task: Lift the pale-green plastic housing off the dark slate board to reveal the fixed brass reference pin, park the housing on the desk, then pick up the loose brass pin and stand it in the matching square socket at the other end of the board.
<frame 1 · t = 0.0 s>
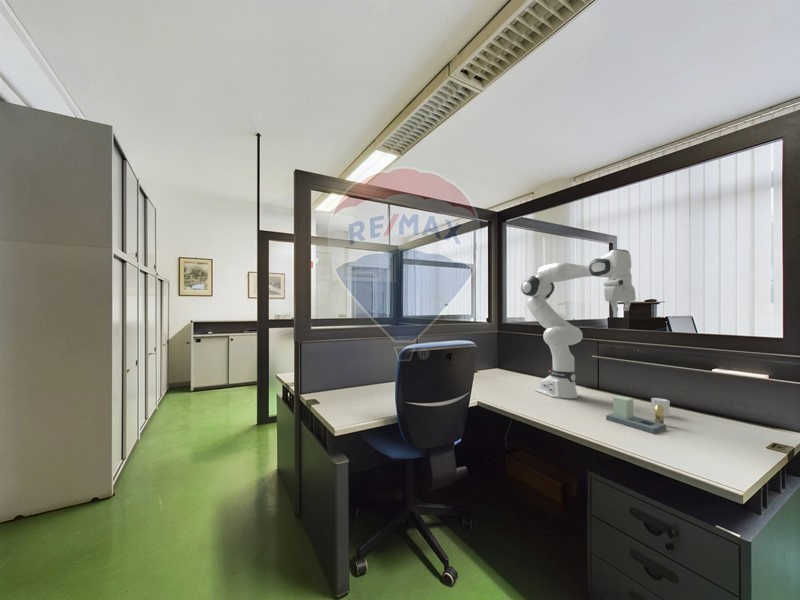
hand: (620, 311, 156), 48 cm above the table, fingers open, 8 cm apart
pin: (659, 424, 137), on the table
shot glass: (660, 415, 149), on the table
housing: (623, 416, 141), point 2 cm above the table, touching pin board
pin board: (634, 424, 137), on the table
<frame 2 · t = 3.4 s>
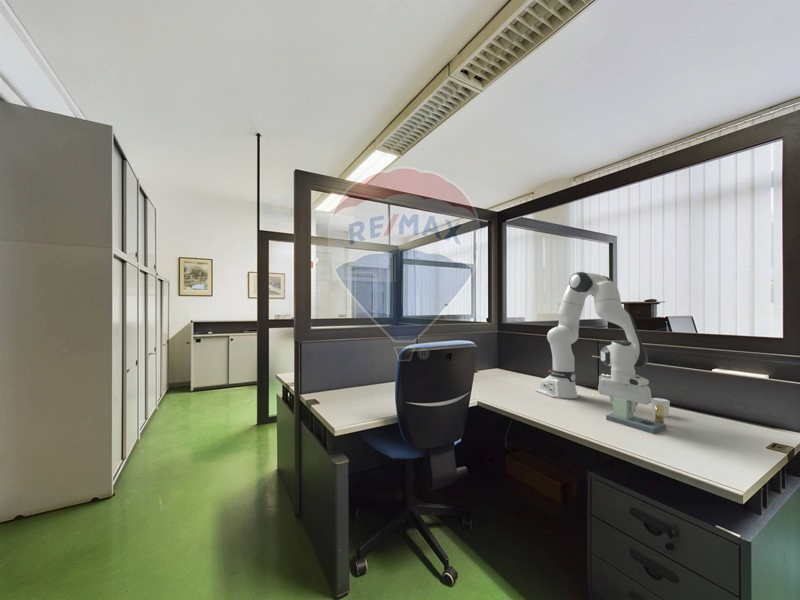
hand: (623, 409, 141), 5 cm above the table, fingers closed on housing, 5 cm apart
housing: (623, 416, 141), point 2 cm above the table, touching gripper, pin board
everything else where it was.
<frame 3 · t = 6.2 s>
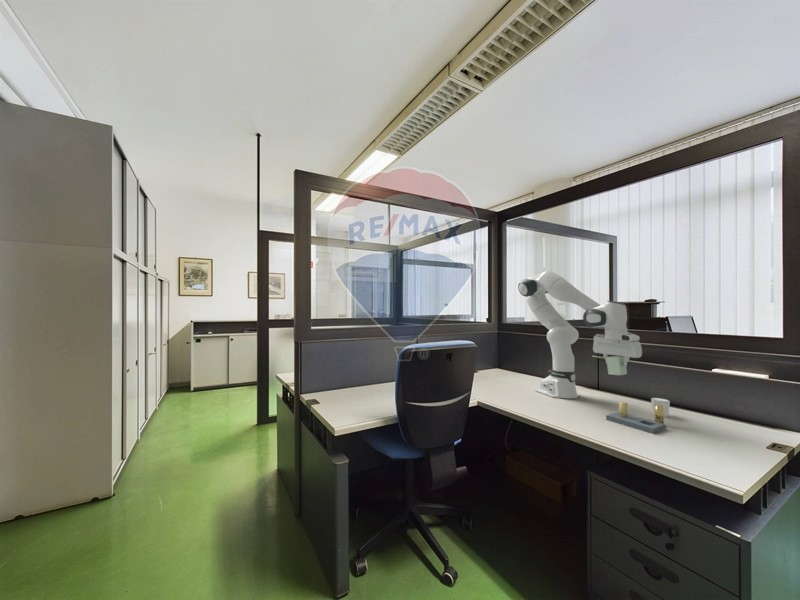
hand: (616, 364, 152), 23 cm above the table, fingers closed on housing, 6 cm apart
housing: (617, 374, 151), point 18 cm above the table, tilted 5°, touching gripper
everything else where it was.
when the fingers open (5 cm above the table, at t = 8.7 s): housing stays where it is, on the table.
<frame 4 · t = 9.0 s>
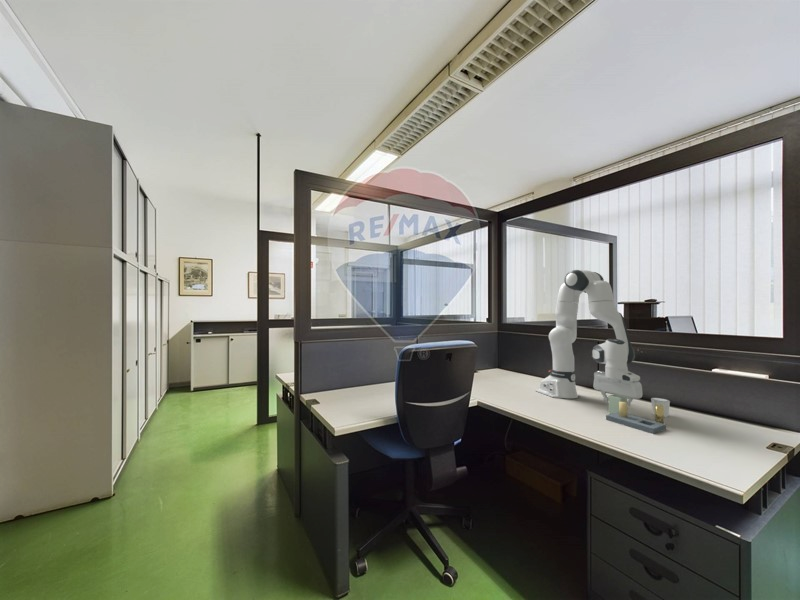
hand: (616, 403, 151), 5 cm above the table, fingers open, 8 cm apart
housing: (617, 413, 151), on the table
everything else where it was.
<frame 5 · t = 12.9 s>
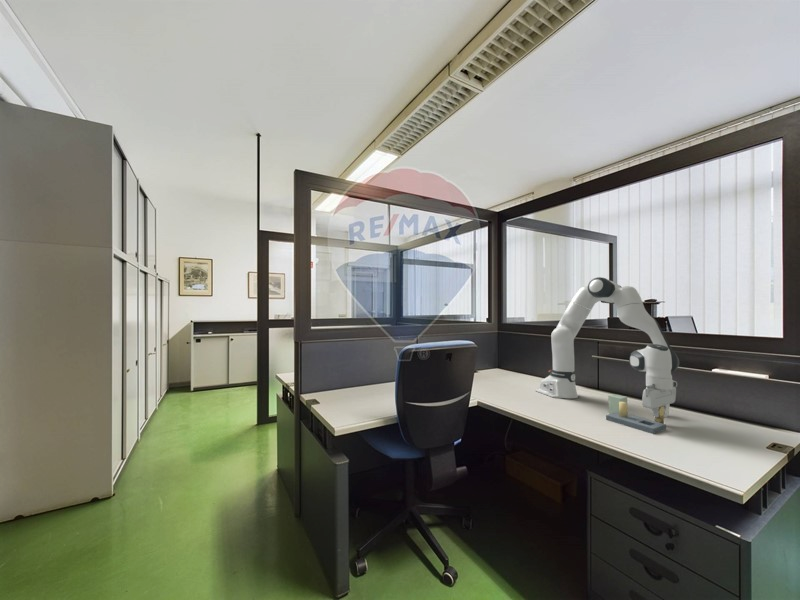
hand: (659, 415, 137), 4 cm above the table, fingers closed on pin, 3 cm apart
pin: (659, 424, 137), on the table, touching gripper
everything else where it was.
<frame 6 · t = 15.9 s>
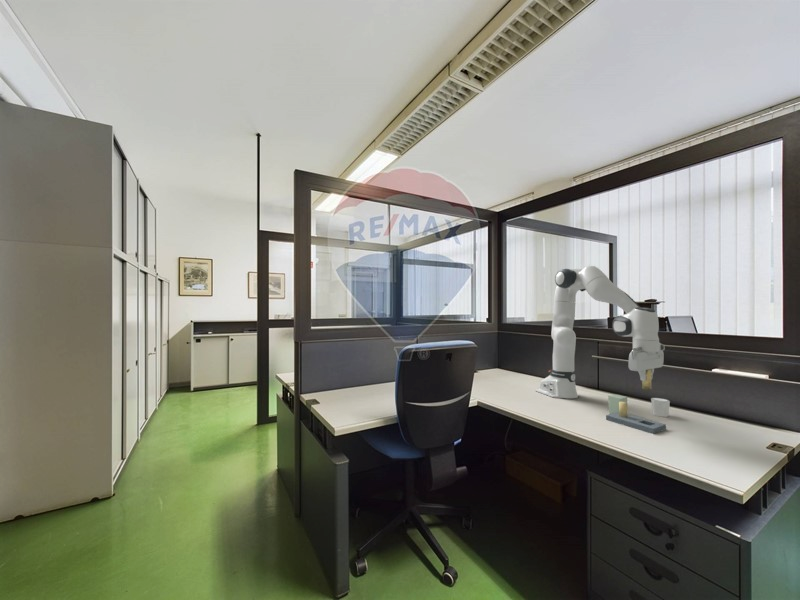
hand: (646, 379, 134), 20 cm above the table, fingers closed on pin, 3 cm apart
pin: (646, 388, 133), point 16 cm above the table, touching gripper
everything else where it was.
when the fingers open (4 cm above the table, at t = 18.8 s): pin stays where it is, resting in pin board.
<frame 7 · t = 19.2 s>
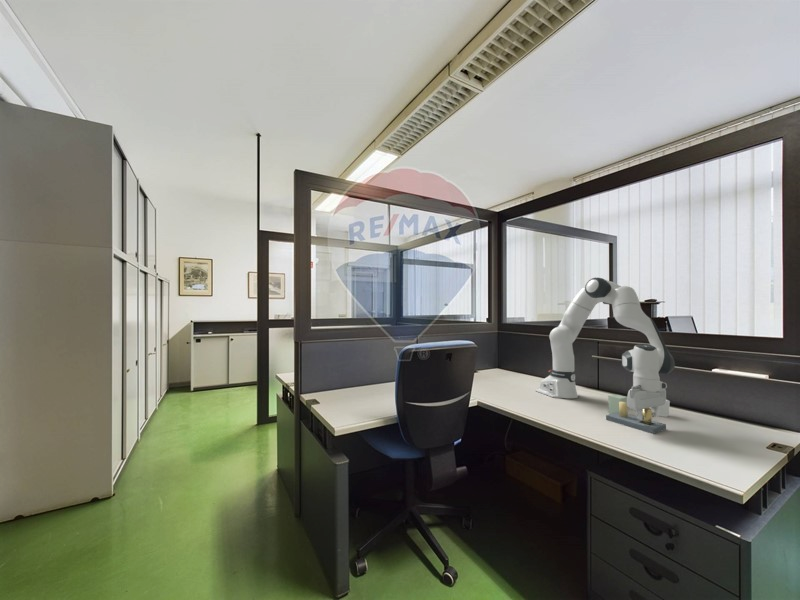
hand: (646, 417, 133), 4 cm above the table, fingers open, 7 cm apart
pin: (647, 427, 133), resting in pin board
everything else where it was.
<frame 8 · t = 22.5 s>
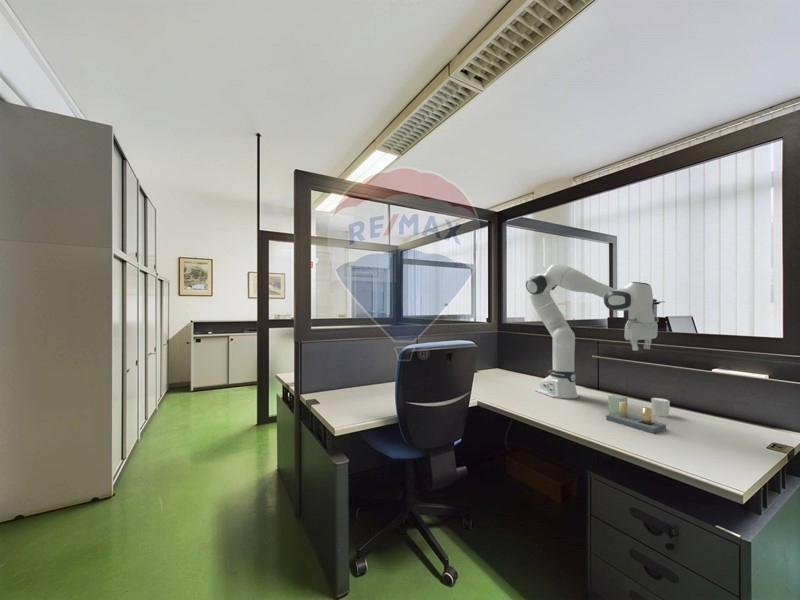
hand: (641, 349, 142), 31 cm above the table, fingers open, 8 cm apart
nothing on the table moved.
at the end: pin 0.1 cm from the target spot on the pin board, point 0.0 cm above the pin board's base; pin tilted 0°; housing moved 10.9 cm from its start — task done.
